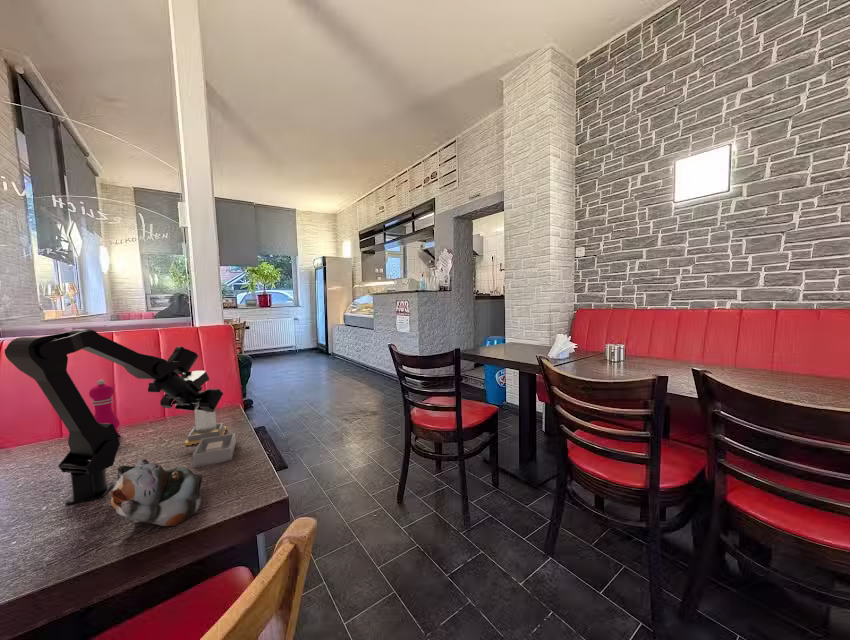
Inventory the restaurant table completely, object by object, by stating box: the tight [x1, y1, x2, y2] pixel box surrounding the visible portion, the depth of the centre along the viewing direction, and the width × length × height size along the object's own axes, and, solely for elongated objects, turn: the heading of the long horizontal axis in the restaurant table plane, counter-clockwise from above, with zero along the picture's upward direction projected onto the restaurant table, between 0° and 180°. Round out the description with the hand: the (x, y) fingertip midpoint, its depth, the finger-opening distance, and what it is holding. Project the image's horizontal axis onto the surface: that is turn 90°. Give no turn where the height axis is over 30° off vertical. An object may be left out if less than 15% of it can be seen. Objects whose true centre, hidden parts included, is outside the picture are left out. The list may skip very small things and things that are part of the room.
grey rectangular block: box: [193, 390, 217, 434], centre depth 111 cm, size 4×4×13 cm
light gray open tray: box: [192, 432, 237, 468], centre depth 98 cm, size 12×9×4 cm
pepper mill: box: [88, 379, 121, 435], centre depth 112 cm, size 7×7×20 cm
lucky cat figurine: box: [109, 458, 203, 527], centre depth 69 cm, size 15×12×14 cm
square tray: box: [184, 422, 227, 447], centre depth 111 cm, size 10×10×3 cm
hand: (208, 410), depth 112 cm, fingers closed on grey rectangular block, 4 cm apart
